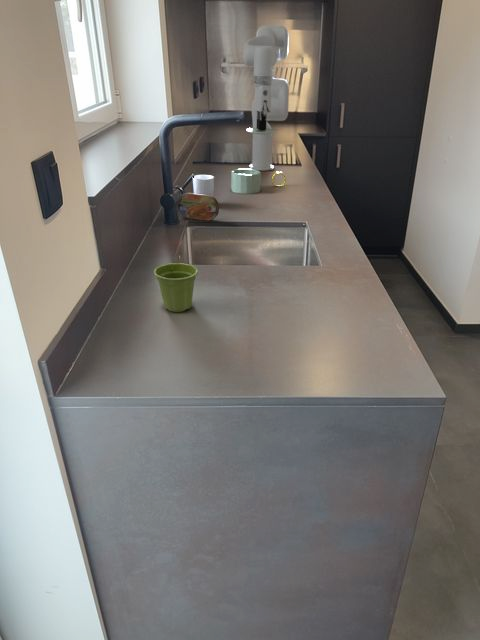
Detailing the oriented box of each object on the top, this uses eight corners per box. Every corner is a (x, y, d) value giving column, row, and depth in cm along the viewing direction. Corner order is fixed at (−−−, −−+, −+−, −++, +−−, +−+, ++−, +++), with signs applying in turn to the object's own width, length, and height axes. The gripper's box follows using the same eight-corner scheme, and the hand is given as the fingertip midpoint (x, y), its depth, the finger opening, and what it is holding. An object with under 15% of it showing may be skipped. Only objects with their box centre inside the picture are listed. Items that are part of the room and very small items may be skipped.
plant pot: (159, 297, 116) (156, 262, 112) (199, 297, 117) (198, 262, 113) (155, 316, 108) (151, 279, 104) (198, 315, 109) (197, 279, 105)
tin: (177, 216, 172) (175, 192, 168) (181, 214, 175) (180, 190, 171) (216, 222, 168) (216, 197, 164) (220, 220, 171) (220, 195, 166)
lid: (243, 130, 219) (243, 116, 216) (271, 130, 222) (271, 116, 219) (250, 135, 208) (250, 120, 205) (279, 135, 212) (280, 120, 209)
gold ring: (271, 187, 215) (272, 172, 212) (271, 185, 217) (271, 171, 214) (285, 187, 215) (286, 172, 212) (284, 185, 218) (285, 171, 215)
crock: (228, 187, 212) (228, 169, 208) (255, 186, 215) (256, 168, 211) (234, 194, 202) (235, 175, 198) (263, 193, 205) (263, 174, 201)
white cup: (218, 203, 189) (217, 176, 184) (207, 208, 183) (207, 180, 178) (200, 200, 192) (199, 173, 187) (189, 205, 186) (188, 177, 181)
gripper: (277, 82, 199) (275, 132, 209) (265, 80, 212) (264, 126, 222) (259, 82, 197) (257, 132, 207) (249, 79, 211) (248, 126, 220)
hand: (261, 129), depth 214 cm, fingers closed on lid, 2 cm apart
